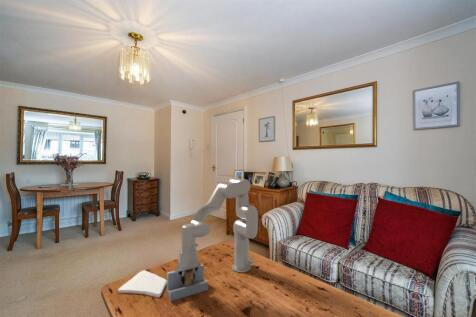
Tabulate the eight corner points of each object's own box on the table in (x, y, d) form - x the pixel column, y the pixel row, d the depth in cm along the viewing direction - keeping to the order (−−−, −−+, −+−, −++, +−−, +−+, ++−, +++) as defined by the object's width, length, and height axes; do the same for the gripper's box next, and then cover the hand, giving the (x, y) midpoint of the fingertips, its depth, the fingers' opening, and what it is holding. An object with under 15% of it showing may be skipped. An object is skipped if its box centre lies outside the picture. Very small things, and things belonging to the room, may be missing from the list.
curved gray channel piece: (202, 281, 122) (202, 264, 123) (207, 290, 114) (208, 271, 114) (167, 290, 113) (167, 272, 113) (170, 301, 105) (170, 281, 105)
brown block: (190, 281, 116) (191, 266, 117) (193, 286, 111) (193, 271, 112) (182, 283, 114) (182, 268, 114) (185, 288, 109) (185, 273, 109)
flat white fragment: (116, 296, 111) (158, 301, 106) (116, 289, 111) (158, 294, 106) (142, 273, 132) (178, 276, 127) (141, 268, 132) (178, 271, 127)
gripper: (201, 242, 121) (200, 274, 121) (171, 248, 113) (170, 281, 113) (205, 247, 114) (205, 280, 114) (173, 253, 106) (173, 289, 106)
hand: (188, 280), depth 113 cm, fingers closed on brown block, 4 cm apart
